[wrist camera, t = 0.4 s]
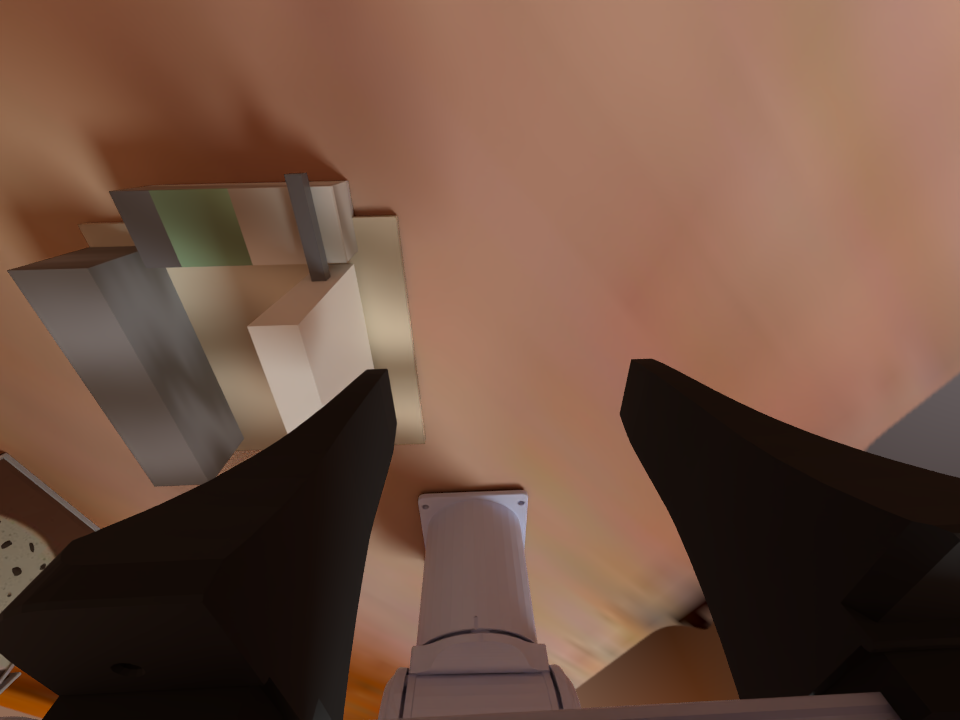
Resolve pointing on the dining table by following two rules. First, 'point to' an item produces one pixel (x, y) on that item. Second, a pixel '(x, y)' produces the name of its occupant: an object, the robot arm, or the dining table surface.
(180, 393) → the frame
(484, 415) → the dining table surface
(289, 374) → the pad
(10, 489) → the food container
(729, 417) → the robot arm
